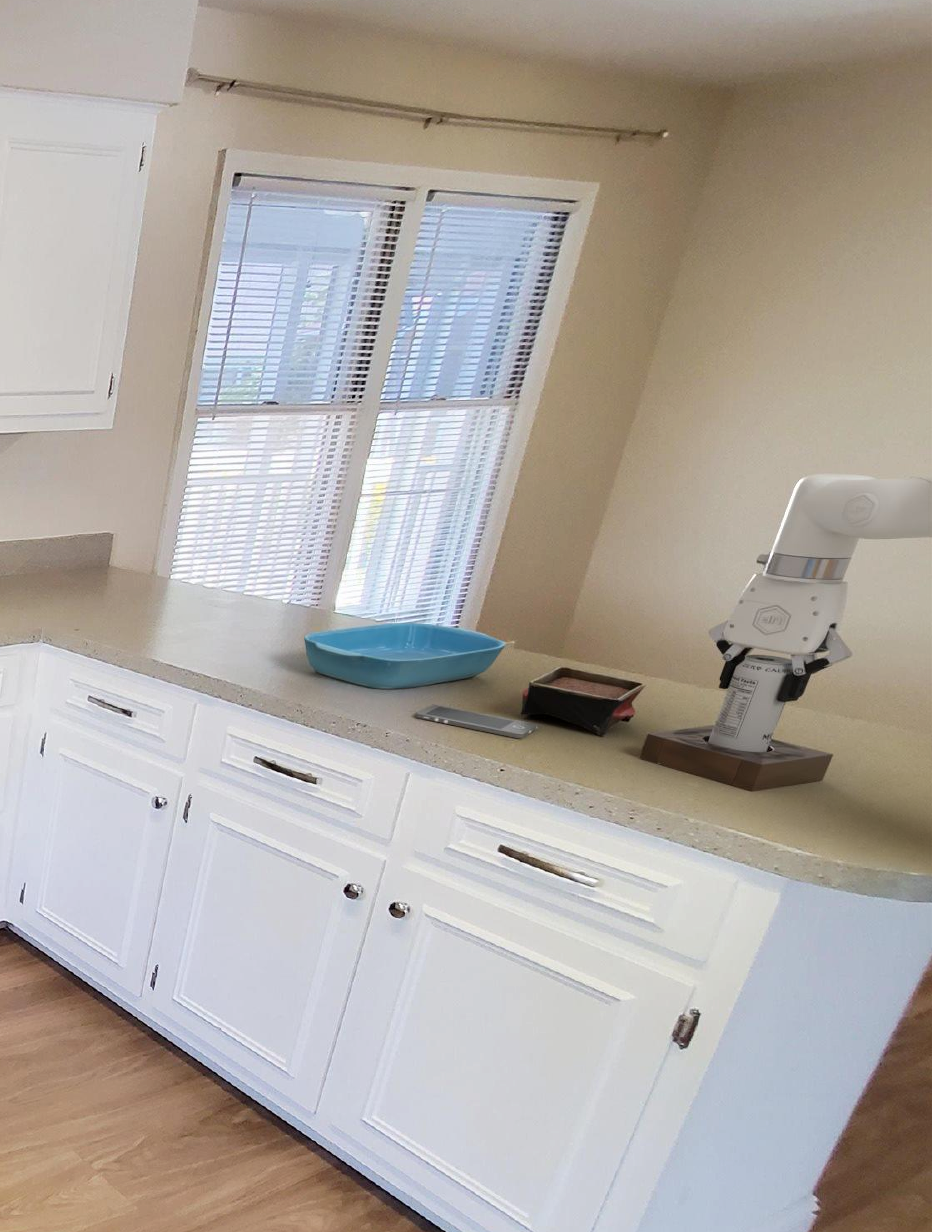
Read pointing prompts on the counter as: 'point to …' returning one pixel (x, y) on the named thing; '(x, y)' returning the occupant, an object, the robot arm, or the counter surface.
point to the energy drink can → (751, 704)
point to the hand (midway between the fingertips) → (757, 693)
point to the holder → (735, 760)
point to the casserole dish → (401, 654)
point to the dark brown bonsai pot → (582, 698)
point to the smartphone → (477, 721)
